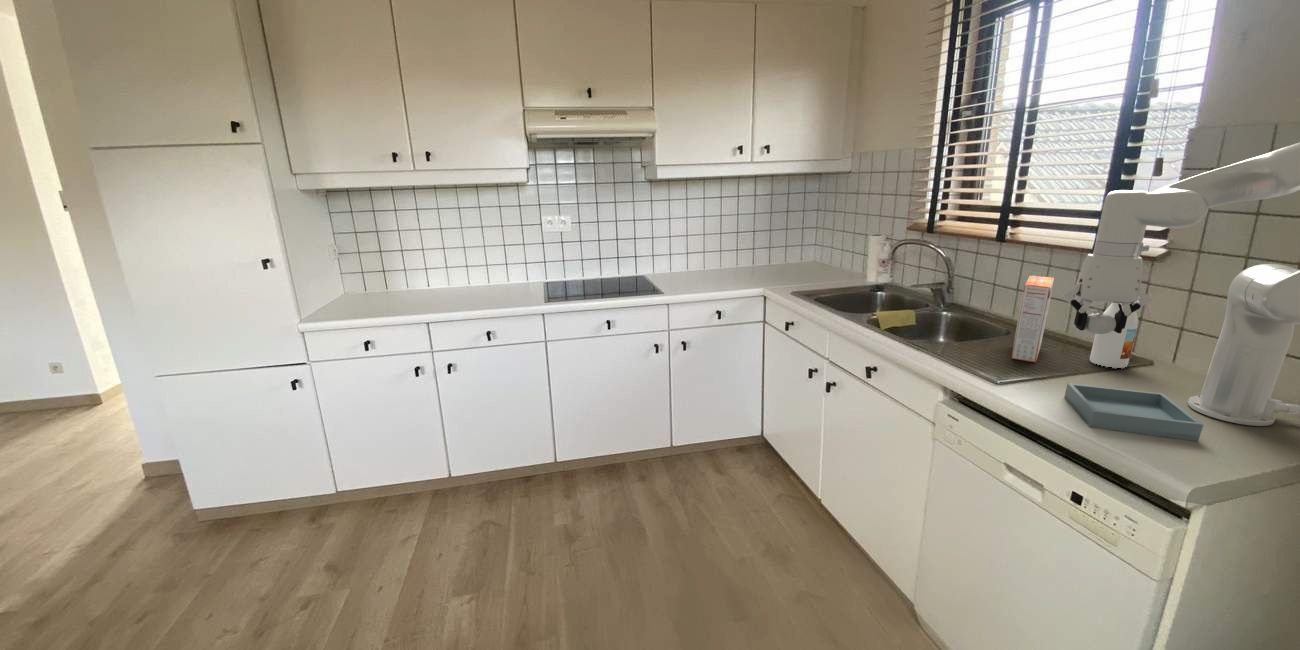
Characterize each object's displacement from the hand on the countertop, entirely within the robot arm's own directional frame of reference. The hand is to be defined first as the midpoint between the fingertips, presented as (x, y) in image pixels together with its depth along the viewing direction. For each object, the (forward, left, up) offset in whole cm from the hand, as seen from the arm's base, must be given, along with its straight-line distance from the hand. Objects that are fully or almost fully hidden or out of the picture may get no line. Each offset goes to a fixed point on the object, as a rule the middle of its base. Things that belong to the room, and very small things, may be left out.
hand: (1097, 329), depth 118 cm
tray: (-4, +12, -15) cm, 20 cm away
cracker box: (+5, -25, -16) cm, 30 cm away
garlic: (0, 0, -1) cm, 1 cm away
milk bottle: (-13, -23, -16) cm, 31 cm away
